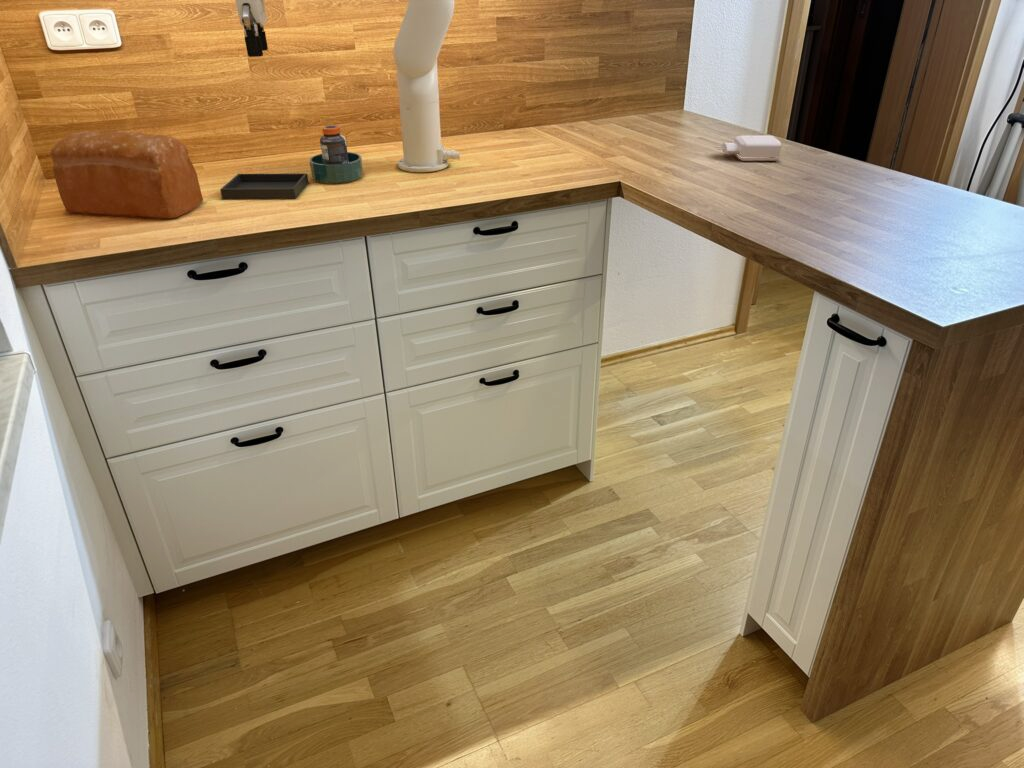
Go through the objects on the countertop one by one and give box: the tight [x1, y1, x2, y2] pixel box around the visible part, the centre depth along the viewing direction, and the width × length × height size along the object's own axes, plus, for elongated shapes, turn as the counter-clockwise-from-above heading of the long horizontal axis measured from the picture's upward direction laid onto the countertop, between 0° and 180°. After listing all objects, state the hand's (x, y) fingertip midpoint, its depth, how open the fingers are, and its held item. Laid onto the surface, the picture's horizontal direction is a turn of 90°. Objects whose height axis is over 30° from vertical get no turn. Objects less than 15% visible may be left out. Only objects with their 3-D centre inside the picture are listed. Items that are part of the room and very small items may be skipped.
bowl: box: [308, 151, 364, 185], centre depth 174 cm, size 12×12×4 cm
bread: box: [49, 130, 204, 219], centre depth 152 cm, size 14×26×16 cm, turn 80°
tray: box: [219, 172, 310, 200], centre depth 165 cm, size 16×12×2 cm
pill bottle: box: [319, 124, 349, 165], centre depth 172 cm, size 6×6×11 cm
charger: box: [714, 134, 782, 162], centre depth 187 cm, size 5×9×15 cm
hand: (258, 53), depth 166 cm, fingers open, 9 cm apart
